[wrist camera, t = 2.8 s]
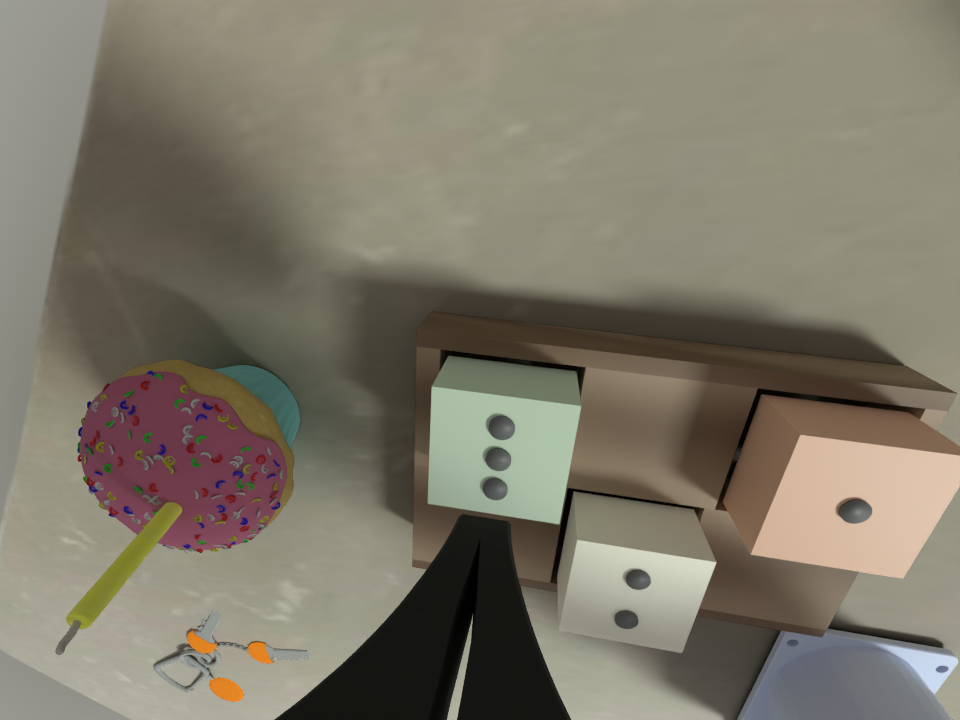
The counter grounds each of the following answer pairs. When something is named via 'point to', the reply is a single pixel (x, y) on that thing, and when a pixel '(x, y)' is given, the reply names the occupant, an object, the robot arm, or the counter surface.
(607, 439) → the board
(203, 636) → the key chain
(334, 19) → the counter surface
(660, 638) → the key two
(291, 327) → the counter surface
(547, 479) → the key three
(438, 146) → the counter surface
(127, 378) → the cupcake
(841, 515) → the key one
